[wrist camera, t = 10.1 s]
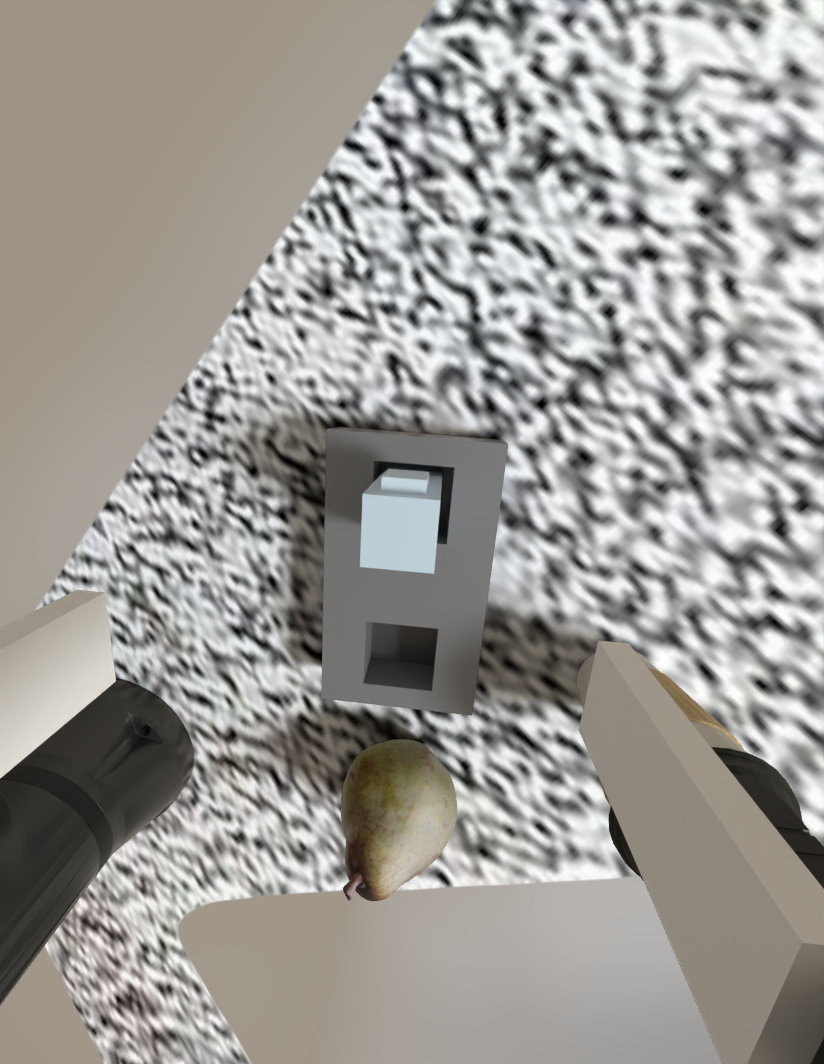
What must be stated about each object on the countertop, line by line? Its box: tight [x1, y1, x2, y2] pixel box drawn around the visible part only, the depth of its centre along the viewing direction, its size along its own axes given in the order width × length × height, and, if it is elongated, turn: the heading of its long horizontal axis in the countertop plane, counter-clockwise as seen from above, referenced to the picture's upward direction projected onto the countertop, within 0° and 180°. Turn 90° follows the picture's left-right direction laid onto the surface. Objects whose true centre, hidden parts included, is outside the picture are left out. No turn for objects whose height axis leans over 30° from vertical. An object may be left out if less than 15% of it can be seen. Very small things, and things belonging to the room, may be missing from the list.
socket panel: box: [321, 427, 508, 715], centre depth 34 cm, size 12×21×4 cm, turn 176°
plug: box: [360, 466, 443, 574], centre depth 28 cm, size 4×5×11 cm
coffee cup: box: [577, 651, 804, 880], centre depth 30 cm, size 10×10×15 cm
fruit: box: [341, 739, 457, 901], centre depth 35 cm, size 10×9×12 cm
